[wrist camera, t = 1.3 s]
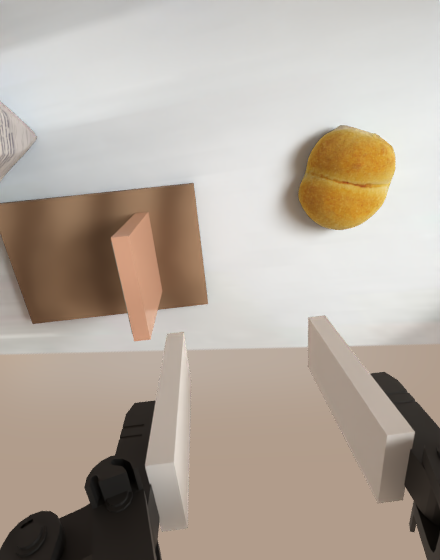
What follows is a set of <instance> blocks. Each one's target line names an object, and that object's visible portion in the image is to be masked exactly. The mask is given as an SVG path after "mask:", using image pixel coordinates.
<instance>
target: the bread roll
mask: <svg viewBox="0 0 440 560" xmlns="http://www.w3.org/2000/svg"><path fill="white" fill-rule="evenodd" d="M394 171H395V154H394V150H393V148H392V146H391V145H390V144H388V143H387V142H386V141H385V140H384V139H382V138H381V137H380V136H379V135H376V134H373V133H369V132H366V131H363V130H360V129H357V128H354V127H349V126H345V125H341V126H338V127H337V128H336V129H334V130H333V131H331V132H329V133H327V134H325V135H324V136H323V137H322V138H321V139H320V140H319V141H318V142H317V144H316V145H315V146H314V148H313V150H312V151H311V153H310V155H309V158H308V162H307V168H306V172H305V175H304V178H303V180H302V182H301V184H300V187H299V193H298V197H299V201H300V203H301V205H302V207H303V209H304V211H305V212H306V213H307V215H308V216H309V217H310V218H311V219H312V220H313V221H314V222H316V223H317V224H318V225H320V226H322V227H325V228H328V229H335V230H344V229H349V228H352V227H355V226H358V225H360V224H362V223H363V222H365V221H366V220H368V219H369V218H370V217H371V216H372V215H374V214H375V212H376V211H377V210H378V209H379V208H380V207H381V206H382V204H383V202H384V200H385V198H386V195H387V192H388V188H389V185H390V182H391V180H392V177H393V175H394Z"/></svg>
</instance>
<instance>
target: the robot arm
mask: <svg viewBox="0 0 440 560" xmlns="http://www.w3.org/2000/svg"><path fill="white" fill-rule="evenodd" d="M308 368H309V370H310V372H311V374H312V376H313V377H314V379H315V381H316V383H317V385H318V387H319V389H320V391H321V393H322V395H323V397H324V399H325V401H326V403H327V405H328V407H329V409H330V411H331V413H332V415H333V416H334V418H335V421H336V422H337V424H338V426H339V428H340V430H341V432H342V434H343V436H344V438H345V440H346V442H347V444H348V446H349V448H350V450H351V452H352V453H353V456H354V458H355V460H356V461H357V463H358V465H359V467H360V469H361V471H362V473H363V475H364V477H365V479H366V481H367V483H368V485H369V487H370V489H371V491H372V493H373V494H374V497H375V499H376V501H377V502H378V503H384V502H392V501H399V500H403V496H404V490H405V487H406V488H407V490H408V492H409V493H410V495H411V496H412V498H413V500H414V503H413V508H412V513H411V518H410V523H409V524H410V531H411V532H414V531H415V527H416V524H417V528H418V531H419V534H420V538H421V541H422V544H423V547H424V551H425V554H426V557H427V560H440V428H439V427H438V426H437V424H436V423H435V422H434V421H433V420H432V419H431V418H430V416H429V415H428V414H427V413H426V412H425V411H424V410H423V409H422V407H421V406H420V405H419V404H418V403H417V402H415V399H414V398H413V397H412V396H411V395H410V394H409V393H407V390H406V389H405V388H404V387H403V386H402V384H401V383H400V382H399V381H398V380H397V379H395V378H393V377H392V376H390V375H389V374H387V373H385V372H380V373H372V374H370V373H369V372H368V371H367V369H366V368H365V367H364V366H363V364H362V363H361V362H360V360H359V359H358V358H357V356H356V355H355V354H354V353H353V351H352V350H351V349H350V347H349V346H348V345H347V343H346V342H345V341H344V340H343V338H342V337H341V336H340V334H339V333H338V332H337V331H336V329H335V328H334V327H333V325H332V324H331V323H330V322H329V320H328V319H327V318H326V316H317V317H308ZM190 413H191V376H190V369H189V363H188V356H187V350H186V343H185V337H184V332H179V333H170V334H167V336H166V342H165V348H164V354H163V360H162V366H161V372H160V378H159V384H158V391H157V396H156V401H148V402H139V403H134V405H133V406H132V407H131V409H130V410H129V411H128V413H127V414H126V417H125V421H124V424H123V429H122V432H121V435H120V440H119V443H118V447H117V451H116V454H115V456H110V457H108V458H107V459H104V460H103V461H101V462H100V463H99V464H98V465H96V466H95V467H94V468H93V469H92V471H91V472H90V474H89V475H88V477H87V479H86V483H85V490H86V493H87V495H88V498H89V501H90V504H88V505H87V506H85V507H83V508H81V509H79V510H77V511H75V512H73V513H70V514H68V515H66V516H64V517H61V518H58V516H57V515H56V514H54V513H53V512H51V511H41V512H38V513H35V514H32V515H30V516H29V517H27V518H25V519H24V520H23V521H21V522H20V523H19V524H18V525H17V526H16V527H15V528H14V529H13V530H12V531H11V532H10V533H9V535H8V537H7V538H6V540H5V542H4V543H3V545H2V547H1V549H0V560H162V559H161V553H160V548H159V544H158V540H157V538H158V528H159V523H160V526H161V531H162V532H163V531H171V530H178V529H186V528H188V490H189V489H188V488H189V453H190V415H191V414H190Z"/></svg>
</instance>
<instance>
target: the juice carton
mask: <svg viewBox="0 0 440 560" xmlns="http://www.w3.org/2000/svg"><path fill="white" fill-rule="evenodd" d="M36 139H37V136H36V135H35V133H34V132H33V131H32V130H31V129H30V128H29V127H28V126H27V125H26V124H25V123H24V122H23V121H22V120H21V119H20V118H19V117H18V116H16V115H15V114H14V113H13V112H12V111H11V110H10V109H9V108H7V107H6V106H5V105H4V104H3V103H2V102H1V101H0V181H1V180H2V179H3V177H4V176H5V175H6V173H7V172H8V171H9V170H10V169H11V168H12V167H13V166H14V165H15V164H16V163H17V161H18V160H19V159H20V158H21V157H22V156H23V155H24V154H25V153H26V152H27V151H28V149H29V148H30V147H31V146H32V144H33V143H34V142H35V140H36Z"/></svg>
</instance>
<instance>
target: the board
mask: <svg viewBox="0 0 440 560" xmlns="http://www.w3.org/2000/svg"><path fill="white" fill-rule="evenodd" d="M142 212H148V213H149V218H150V224H151V230H152V235H153V241H154V247H155V252H156V258H157V264H158V269H159V275H160V281H161V286H162V295H161V299H160V303H159V307H158V310H159V309H168V308H176V307H185V306H194V305H203V304H208V299H207V291H206V282H205V274H204V266H203V257H202V249H201V241H200V233H199V224H198V216H197V208H196V199H195V191H194V183H189V184H180V185H170V186H160V187H151V188H141V189H132V190H122V191H113V192H103V193H94V194H84V195H74V196H65V197H55V198H46V199H36V200H27V201H17V202H7V203H0V233H1V236H2V239H3V242H4V245H5V247H6V250H7V253H8V256H9V259H10V261H11V264H12V267H13V270H14V273H15V275H16V278H17V281H18V284H19V287H20V289H21V292H22V295H23V298H24V301H25V303H26V306H27V309H28V312H29V315H30V317H31V320H32V323H33V324H36V323H45V322H53V321H62V320H71V319H80V318H89V317H97V316H106V315H115V314H124V313H127V308H126V304H125V300H124V295H123V291H122V287H121V282H120V278H119V273H118V269H117V265H116V260H115V256H114V251H113V247H112V243H111V242H112V241H111V237H112V236H113V235H114V234H115V233H116V232H117V231H118V230H119V229H120V228H121V227H122V226H123V225H124V224H125V223H126V222H127V221H128V220H129V219H130V218H131V217H132V216H133V215H134V214H135V213H142Z"/></svg>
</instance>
